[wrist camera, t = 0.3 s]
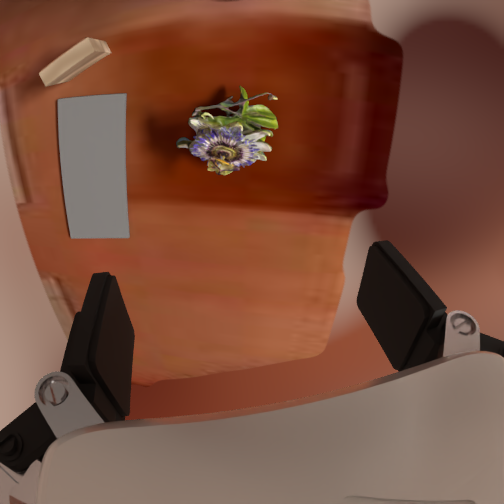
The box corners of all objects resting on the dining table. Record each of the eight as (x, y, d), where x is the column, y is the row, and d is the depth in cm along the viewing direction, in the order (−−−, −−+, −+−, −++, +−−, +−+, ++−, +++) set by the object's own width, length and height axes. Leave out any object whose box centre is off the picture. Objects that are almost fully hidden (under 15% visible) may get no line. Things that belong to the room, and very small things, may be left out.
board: (62, 69, 32) (38, 72, 25) (104, 40, 31) (87, 36, 24) (68, 81, 33) (45, 86, 26) (111, 52, 32) (94, 50, 26)
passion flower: (214, 139, 47) (165, 168, 39) (223, 73, 40) (170, 86, 31) (281, 163, 45) (243, 199, 36) (298, 93, 38) (260, 110, 29)
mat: (59, 98, 34) (57, 99, 33) (126, 93, 36) (125, 93, 35) (72, 236, 45) (71, 238, 45) (129, 236, 48) (129, 237, 47)
